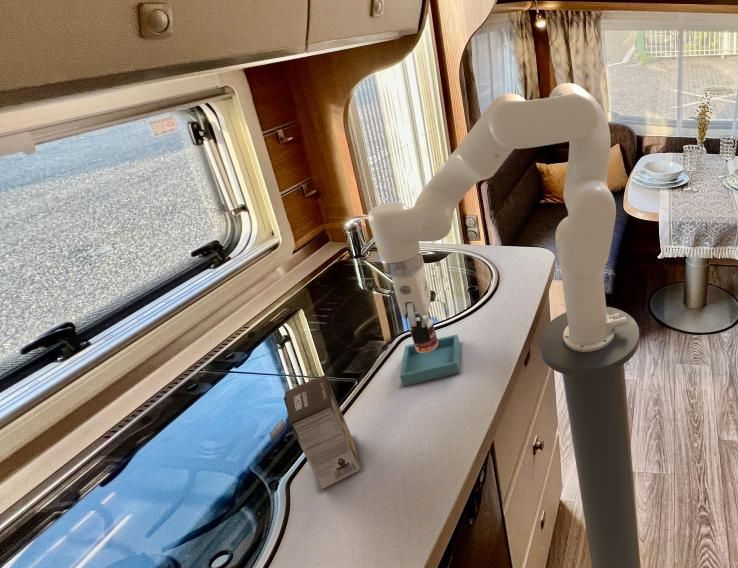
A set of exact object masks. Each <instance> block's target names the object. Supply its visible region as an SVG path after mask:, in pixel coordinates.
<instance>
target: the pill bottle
mask: <svg viewBox="0 0 738 568" xmlns="http://www.w3.org/2000/svg"><path fill="white" fill-rule="evenodd" d="M416 313H418V312H415V314H416ZM429 314H430V313H429ZM429 314H427V315H426V316H425V315H424V316H423V318H424V322H425V324H427V327H428V331H429V334H430V338H431V339H430V341H427V342H422V343H418V344H415V342H414V339H413V336H412V333H411V329H410V328H409V331H410V335H411V339H412V342H413V344H414V345H415V349H416V351H417V352H419V353H428V352H430V351H432V350H434V349H435V348H436V347H437V346H438V341H437V339H438V338H437V334H436V330H435V325H434V323H433V320H432V318H431V319H430V318H429ZM416 320H417V321H420V317H417V318H416ZM420 322H421V321H420Z"/></svg>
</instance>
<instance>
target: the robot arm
mask: <svg viewBox="0 0 738 568" xmlns="http://www.w3.org/2000/svg"><path fill="white" fill-rule="evenodd" d="M611 139H612V138H611V131H610V126H609V123H608V119H607V117H606V114H605V112H604V110H603V109H602V107H601V105H600V104H599V103H598V101H597V100H596V99H595V98H594V96H592V95H591V94H590V93H589V92H588V91H587V90H586V89H584V88H583V87H581V86H580V85H578V84H575V83H571V82H565V83H561V84H559V85H557V86H555V87H554V88H553V89H552V90H551V92H550V94H549V97H544V98H536V99H528V100H527V99H526V98H524V97H523V96H521V95H518V94H517V93H512V92H507V93H506V92H505V93H502V94H500V95H498V96H496V98H495V99H494V100H492V102H490V104H489V105H488V106H487V108H486V109H485V111H484V112H483V113H482V114H481V116H480V117H479V118H478V119H477V121H476V122H475V123H474V125H473V126H472V128H470V130H469V132H468V133H467V134H466V135H465V136H464V137H463V139H462V140H461V142H460V143H459V145H458V146H456V148H455V149H454V150H453V151H452V153H451V154H450V155H449V157H448V158H447V159H446V160H445V161H444V163H442V165H441V166H440V167H439V169H437V171H436V172H435V173H434V175H433V176H432V178H430V179H429V181H428V182H427V184H426V185H425V186H424V188H423V189H422V190H421V192H420V193H419V194H418V196H417V198H416V200H415V203H414V206H413V207H411V208H409V206H408V205H407V204H406V203H404V202H401V201H390V202H385V203H381V204H378V205H376V206H374V207H372V208H371V209H370V210H369V212H368V214H367V220H368V224H369V227H370V230H371V233H372V237H373V240H374V243H375V247H376V249H377V252H378V256H379V258H380V262H381V265H382V269H383V273H384V275H385V276H386V277H388V278H391V281H392V287H393V289H394V294H395V298H396V302H397V304H398V308H399V311H400V315H401V317H402V319H404V320H408V326H409V330H410V329H411V332H410V334H411V333H412V335H411V337H412V336H413V339H414V342H415V344H418V343H422V342H427V341H430V339H431V338H430V334H429V331H428V327H427V324H425V322H424V318H423V316H424V315H425V316H426V315H427V314H429V318H430V319H431V320H432V318H431V317H432V316H431V314H430V306H431V305H430V304H431V298H432V297H431V296H432V294H431V293H432V292H431V289H430V287H429V283H428V280H427V277H426V274H425V271H424V266H425V261H424V258H423V254H422V250H421V246H420V242H422V243H423V242H428V243H429V242H437V241H438V242H439V241H440V240H442V239H444V238H446V237H447V236H448V235H449V233H450V232H451V230H452V226H453V217H454V212H455V210H456V208H457V207H458V205H459V204H460V203H461V201H462V200H463V199H464V197H465V196H466V195H467V194H468V192H469V191H470V190H471V189H472V188H473V187H474V186H475V185H476V184H478V183H479V182H481V181H485V180H489V179H491V178H492V177H494V175H495V174H496V173H497V172H498V170H499V169H500V167H501V166H502V165H503V164H504V162H505V161H506V160H507V159H508V157H509V156H510V155H511V154H512V152H513V151H514V150H516V149H517V150H521V149H531V148H537V147H538V148H539V147H544V146H550V145H556V144H561V143H567V142H569V143H568V144H569V146H568V147H569V148H568V161H567V168H566V174H565V182H564V187H563V193H562V194H563V195H562V197H563V201H564V204H565V207H566V210H567V216H566V217H564V218H563V219H562V220H561V221H560V222H559V223H558V225H557V227H556V230H555V236H554V238H555V246H556V251H557V258H558V263H559V268H560V275H561V276H560V277H561V283H562V289H563V298H564V304H565V312H566V313H567V320H568V326H567V327H566V328H565V330H564V333H563V338H564V342H565V344H566V345H567V346H568V347H569V348H571V349H573V350H575V351H580V352H591V351H596V350H599V349H601V348H604V347H605V346H607V345H608V344H609V343H610V342H611V341H612V340H613V338H614V336H615V327H616V326H622V325H626V324H627V319H626V317H622V318H620V317H619V313H617V314H613V315H607V310H606V307H607V303H606V302H607V299H606V291H605V283H604V282H605V280H604V279H605V278H604V269H605V267H606V266H607V264H608V262H609V258H610V254H611V247H612V243H613V236H614V230H615V229H614V228H615V226H616V225H615V224H616V217H617V206H616V201H615V197H614V195H613V193H612V192H611V190H610V188H609V186H608V174H609V168H610V159H611V147H612V146H611V145H612V144H611V143H612V140H611ZM415 312H418V313H416V314H415ZM417 317H420V321H421V322H420V321H417V320H416V318H417ZM413 339H412V340H413ZM414 342H413V343H414Z"/></svg>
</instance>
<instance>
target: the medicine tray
mask: <svg viewBox="0 0 738 568" xmlns="http://www.w3.org/2000/svg"><path fill="white" fill-rule="evenodd" d="M437 341H438V346H437V347H436V348H435V349H434V350H432V351H430V352H428V353H419V352H417V351H416V349H415V345H414V343H412V344H407V345H404V350H403V356H402V362H401V368H400V369H401V370H400V375H399V378H400V381H401V384H402V386H403V387H406V386H410V385H413V384H418V383H423V382H426V381H432V380H436V379H439V378H443V377H447V376H452V375H456V374H459V373H460V361H461V359H460V358H461V357H460V356H461V353H460V352H461V343H460V338H459V335H458V334H454V335H449V336H445V337H440V338H439V337H438V338H437Z"/></svg>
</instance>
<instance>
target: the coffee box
mask: <svg viewBox="0 0 738 568" xmlns="http://www.w3.org/2000/svg"><path fill="white" fill-rule="evenodd" d="M284 395H285V403H286V410H287V417H288V423H289V426H290V428H291V430H292V432H293V434H294V436H295V438H296V439H297V442H298V443H299V446H300V448H301V450H302V452H303V455H304V456H305V457H306V460H307V462H308V464H309V466H310V469H311V470H312V472H313V474H314V476H315V478H316V480H317V482H318V484H319V486H320V488H321V489H322V490H324V489H326V488H327V487H330V486H332V485H334V484H335V483H338V482H339V481H341V480H344V479H345V478H348V477H349V476H351V475H353V474H355V473H356V472H359V471H360V470H361V465H360V461H359V457H358V454H357V449H356V446H355V442H354V439H353V436H352V434H351V431H350V429H349V426H348V424H347V422H346V420H345V417H344V415H343V413H342V411H341V408H340V406H339V404H338V401H337V399H336V396H335V394H334V392H333V389H332V387H331V384H330V382H329V380H328V377H327V375H326V374H323V375H321V376H319V377H316V378H313V379H311V380H309V381H306V382H304V383H302V384H299V385H297V386H295V387H293V388H290V389H288V390H286V391H284Z"/></svg>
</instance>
